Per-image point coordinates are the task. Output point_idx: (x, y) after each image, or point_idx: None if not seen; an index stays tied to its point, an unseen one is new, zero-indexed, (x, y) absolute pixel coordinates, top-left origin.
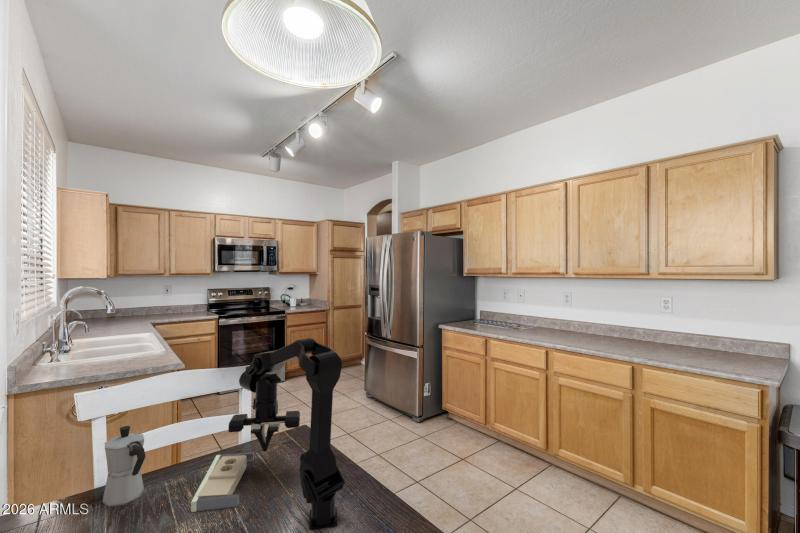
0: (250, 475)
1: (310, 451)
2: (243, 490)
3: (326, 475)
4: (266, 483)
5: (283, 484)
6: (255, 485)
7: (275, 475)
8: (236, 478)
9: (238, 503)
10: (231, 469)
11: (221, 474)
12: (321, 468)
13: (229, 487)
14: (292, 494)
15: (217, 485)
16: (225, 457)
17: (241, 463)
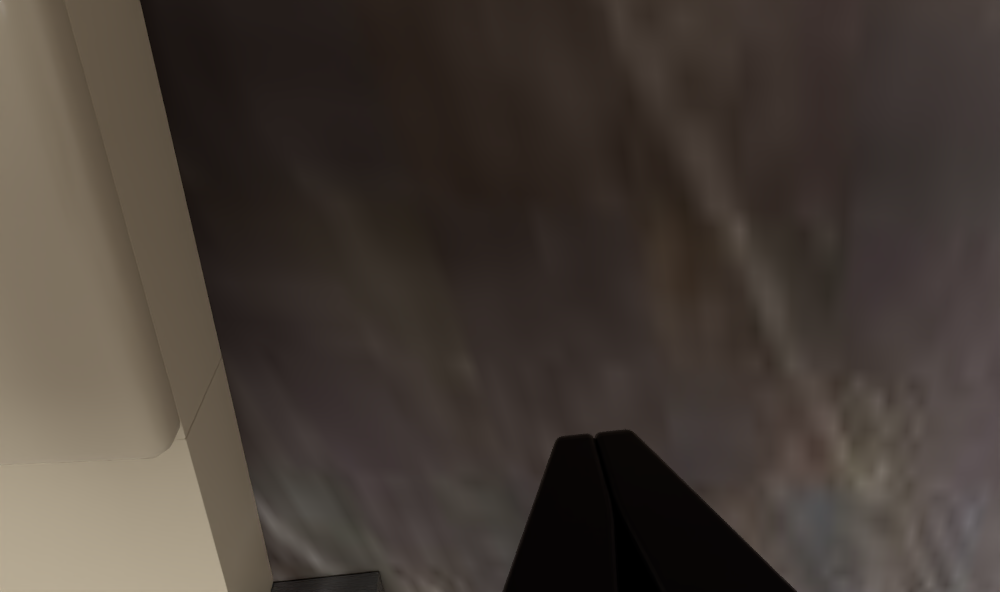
0: (291, 87)
1: None
2: (338, 399)
3: None
4: (578, 289)
5: (789, 320)
6: (449, 320)
7: (673, 115)
8: (185, 398)
9: (379, 584)
10: (6, 348)
11: None
12: None
13: (211, 588)
14: (879, 476)
15: (35, 560)
16: None
17: (65, 153)
